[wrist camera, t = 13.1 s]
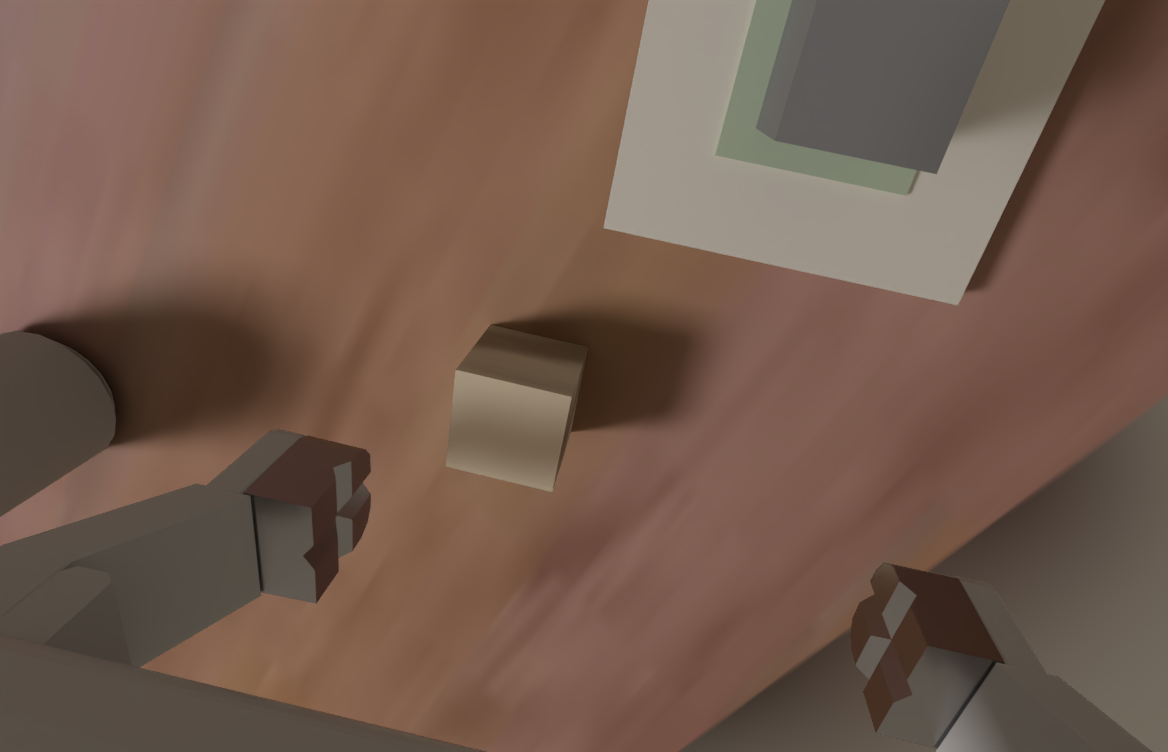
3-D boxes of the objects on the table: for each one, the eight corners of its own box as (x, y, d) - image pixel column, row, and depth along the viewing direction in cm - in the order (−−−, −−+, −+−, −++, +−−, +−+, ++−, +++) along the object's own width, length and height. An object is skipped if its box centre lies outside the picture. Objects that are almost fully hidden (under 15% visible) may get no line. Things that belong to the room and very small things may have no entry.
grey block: (798, -23, 20) (832, -51, 16) (941, 5, 20) (1016, -16, 15) (755, 128, 22) (774, 140, 18) (884, 154, 22) (936, 174, 18)
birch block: (490, 324, 29) (456, 369, 24) (588, 346, 28) (571, 396, 24) (480, 409, 31) (445, 466, 26) (571, 431, 30) (552, 492, 26)
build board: (695, -221, 19) (696, -242, 18) (1149, -138, 19) (1183, -153, 18) (606, 221, 26) (603, 229, 24) (946, 295, 25) (960, 306, 24)
